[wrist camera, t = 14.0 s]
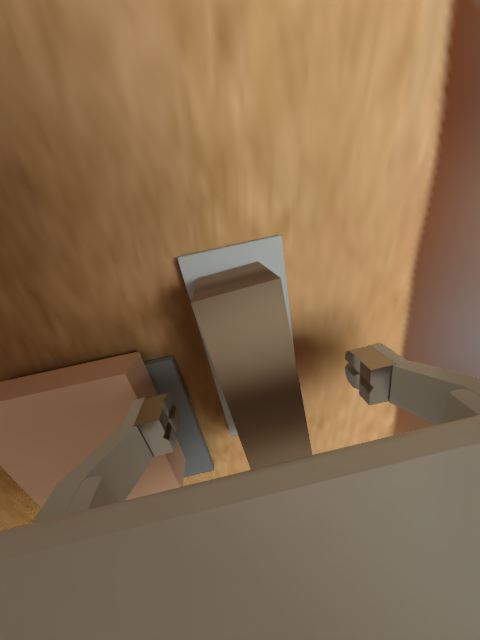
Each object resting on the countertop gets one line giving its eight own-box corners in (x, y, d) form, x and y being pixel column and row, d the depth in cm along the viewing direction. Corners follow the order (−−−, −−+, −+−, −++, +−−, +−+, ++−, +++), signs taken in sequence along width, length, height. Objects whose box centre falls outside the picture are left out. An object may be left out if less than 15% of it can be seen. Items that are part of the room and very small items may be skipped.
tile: (-52, 412, 10) (53, 521, 13) (125, 373, 10) (182, 490, 14) (-7, 382, 12) (73, 483, 15) (139, 349, 12) (186, 457, 16)
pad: (179, 256, 11) (177, 257, 10) (277, 235, 11) (281, 235, 10) (230, 428, 16) (230, 435, 15) (298, 412, 16) (302, 418, 15)
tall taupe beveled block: (198, 277, 11) (190, 302, 7) (258, 261, 11) (280, 278, 7) (246, 421, 15) (257, 486, 11) (289, 410, 15) (314, 470, 11)
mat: (-16, 398, 13) (-23, 403, 12) (172, 355, 13) (171, 359, 13) (70, 499, 17) (67, 505, 16) (213, 464, 17) (213, 470, 16)
